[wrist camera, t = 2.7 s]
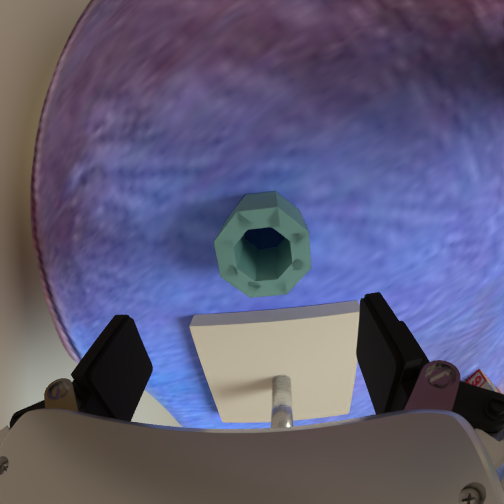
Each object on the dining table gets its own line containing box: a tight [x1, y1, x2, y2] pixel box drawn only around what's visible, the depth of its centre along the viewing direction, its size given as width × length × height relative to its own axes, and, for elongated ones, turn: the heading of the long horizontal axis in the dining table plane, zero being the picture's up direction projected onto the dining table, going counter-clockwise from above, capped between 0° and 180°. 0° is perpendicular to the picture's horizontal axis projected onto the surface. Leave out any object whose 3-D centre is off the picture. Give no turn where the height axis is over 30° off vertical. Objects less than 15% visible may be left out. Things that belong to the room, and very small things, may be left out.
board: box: [189, 300, 360, 428], centre depth 25 cm, size 16×16×10 cm
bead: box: [214, 191, 311, 298], centre depth 21 cm, size 6×6×6 cm
